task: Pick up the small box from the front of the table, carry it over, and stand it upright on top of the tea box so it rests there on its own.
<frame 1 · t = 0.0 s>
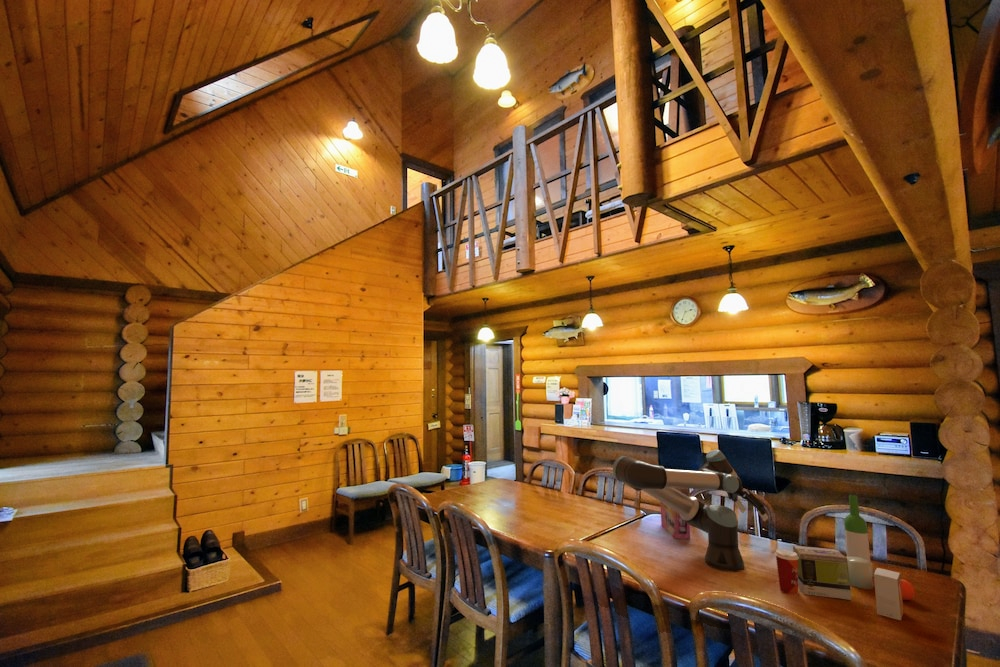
hand: (754, 515, 213), 15 cm above the table, tool tilted 35°, fingers open, 13 cm apart
strawberry: (902, 600, 162), on the table
tea box: (822, 592, 167), on the table
wine bottle: (859, 569, 189), on the table
small box: (890, 614, 152), on the table
gum box: (675, 531, 236), on the table
sage mug: (859, 584, 174), on the table
paper cup: (789, 592, 167), on the table
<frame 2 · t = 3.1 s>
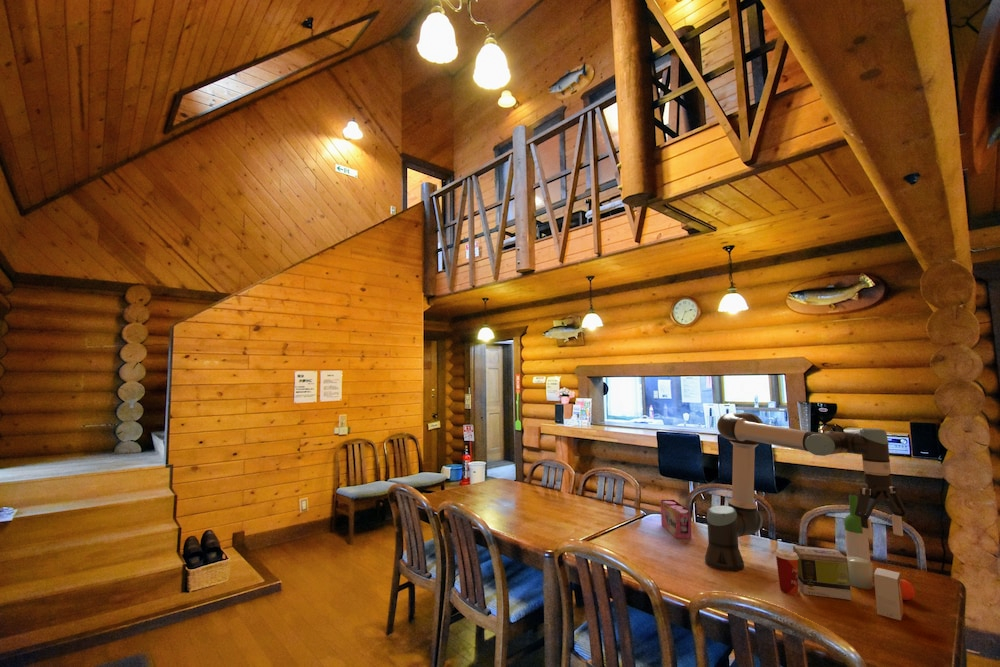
hand: (883, 536, 155), 25 cm above the table, tool pointing down, fingers open, 13 cm apart
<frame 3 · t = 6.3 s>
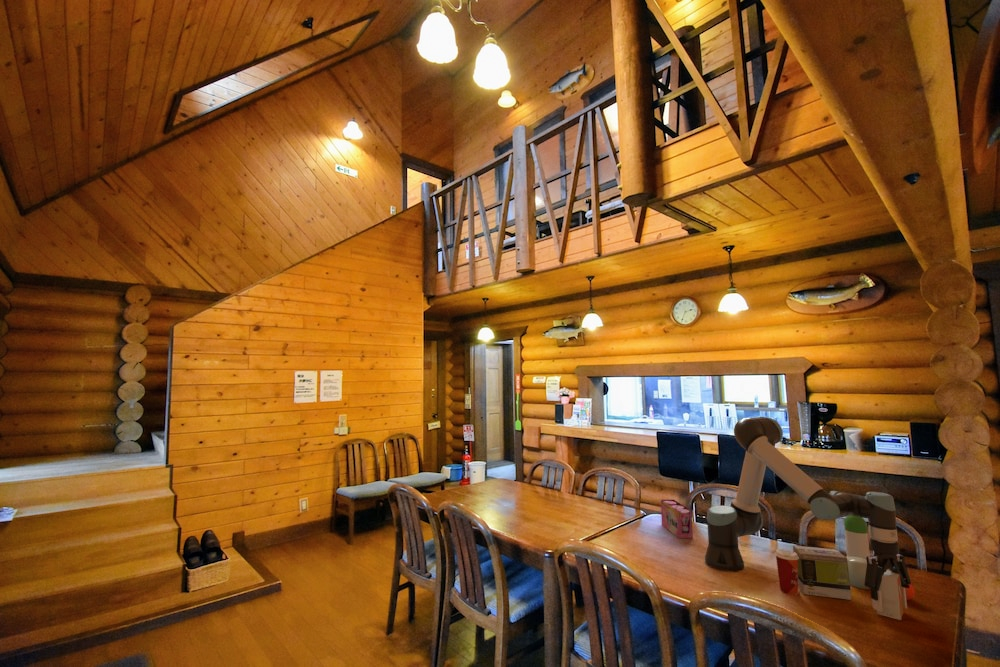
hand: (890, 608, 152), 2 cm above the table, tool pointing down, fingers closed on small box, 10 cm apart
small box: (890, 614, 152), on the table, touching gripper
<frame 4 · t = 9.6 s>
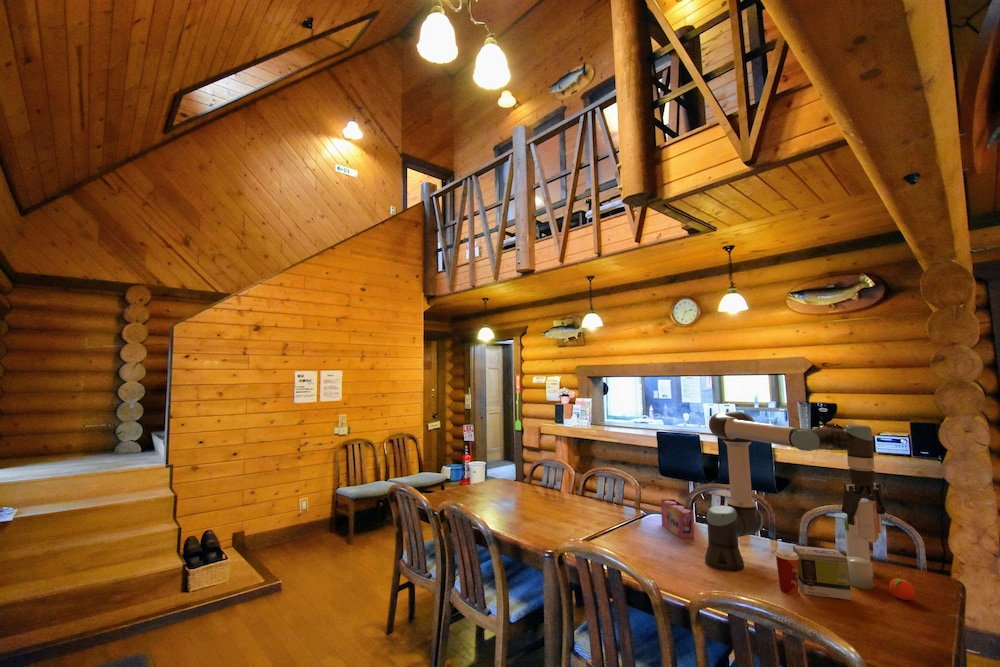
hand: (865, 533, 158), 25 cm above the table, tool pointing down, fingers closed on small box, 10 cm apart
small box: (866, 538, 158), point 23 cm above the table, touching gripper
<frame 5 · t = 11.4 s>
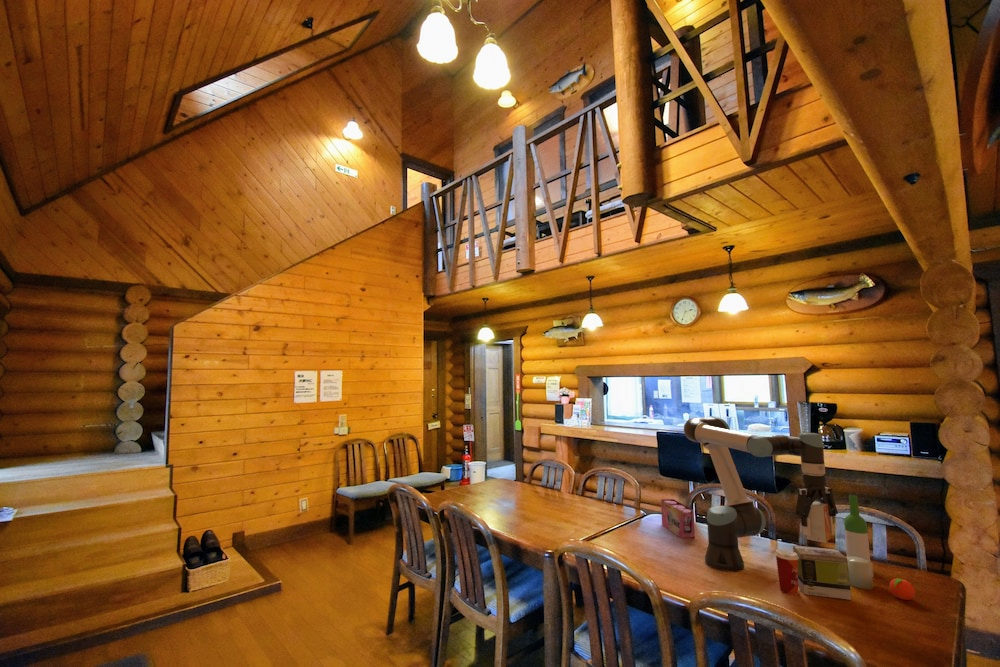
hand: (818, 534, 170), 21 cm above the table, tool pointing down, fingers closed on small box, 10 cm apart
small box: (818, 539, 169), point 19 cm above the table, touching gripper
when the fingers open (18 cm above the table, at t = 12.8 s): small box drops 2 cm, resting on tea box.
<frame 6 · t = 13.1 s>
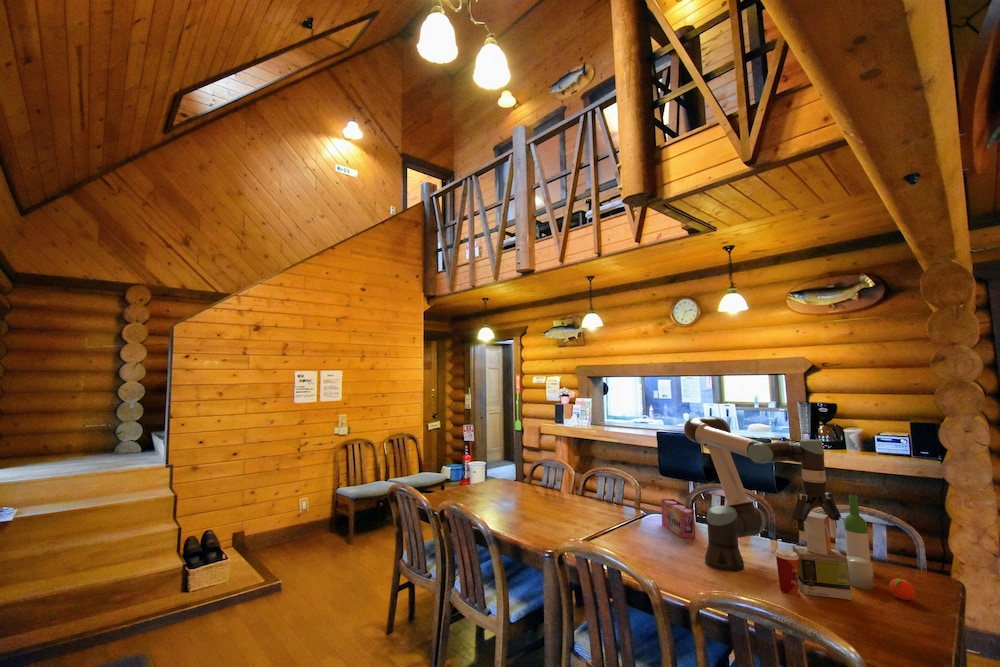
hand: (818, 538, 169), 19 cm above the table, tool pointing down, fingers open, 13 cm apart
tea box: (822, 592, 167), on the table, touching small box
small box: (819, 551, 169), point 15 cm above the table, touching tea box
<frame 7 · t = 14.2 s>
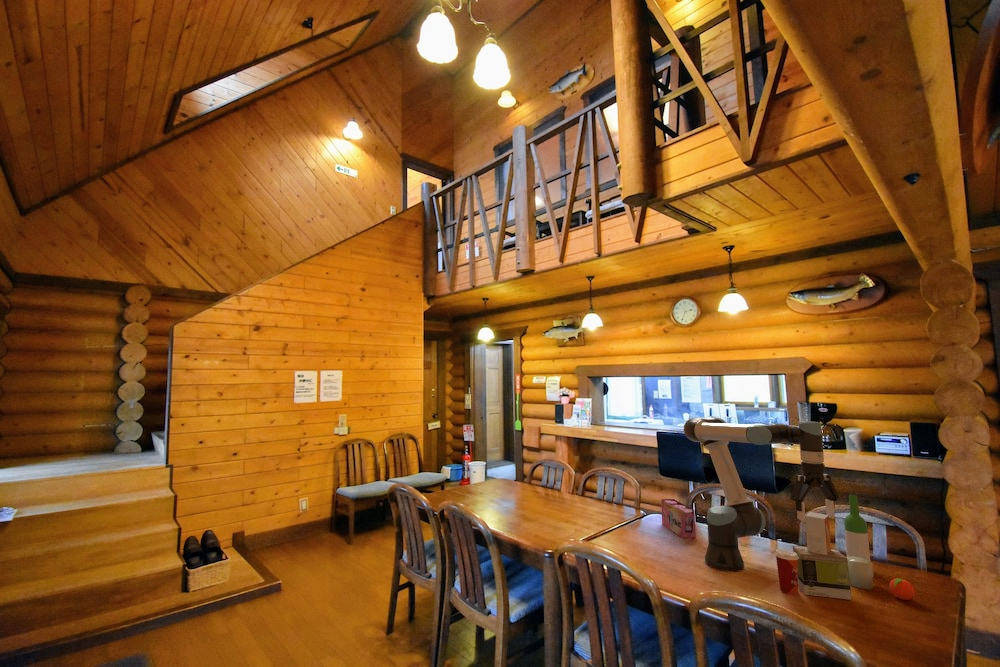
hand: (816, 518, 171), 26 cm above the table, tool pointing down, fingers open, 13 cm apart
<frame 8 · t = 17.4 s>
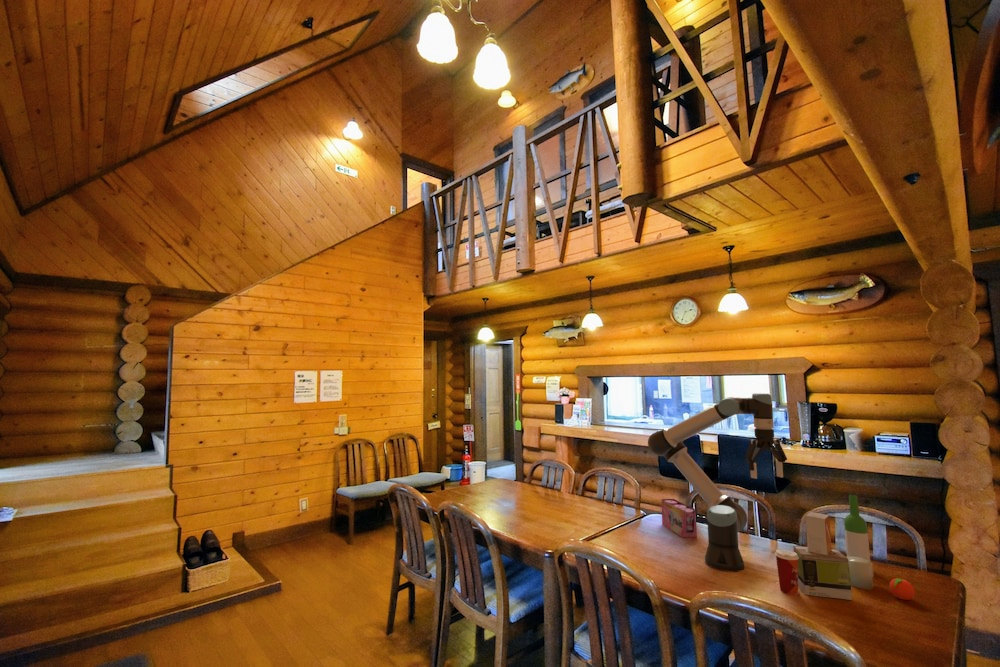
hand: (767, 477, 196), 37 cm above the table, tool pointing down, fingers open, 13 cm apart
at the end: small box inside the target area on the tea box (0.1 cm from its centre), point 14.8 cm above the tea box's base; small box tilted 0°; the gripper is holding nothing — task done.
